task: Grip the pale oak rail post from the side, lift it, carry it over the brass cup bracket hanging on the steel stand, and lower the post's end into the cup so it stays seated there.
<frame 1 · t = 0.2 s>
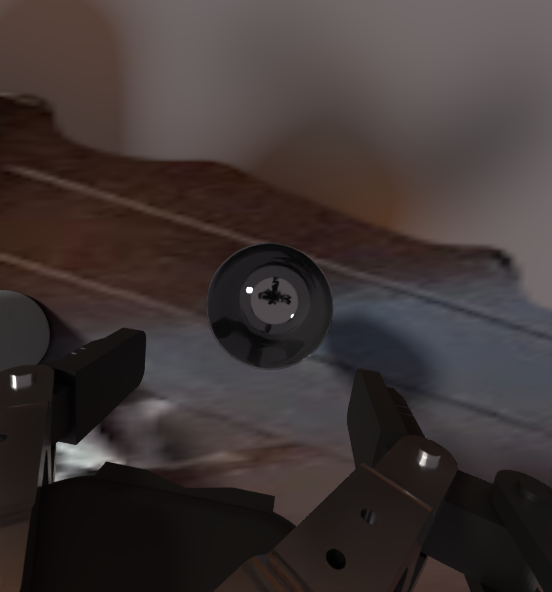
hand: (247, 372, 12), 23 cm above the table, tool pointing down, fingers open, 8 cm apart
water bottle: (14, 329, 37), on the table
wine glass: (281, 292, 35), on the table
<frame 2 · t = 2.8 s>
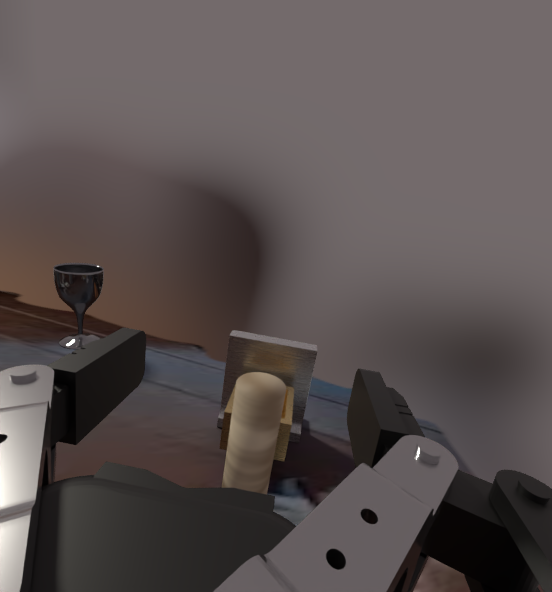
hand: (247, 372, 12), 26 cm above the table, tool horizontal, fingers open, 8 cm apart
rail post: (234, 551, 30), on the table
cup bracket: (252, 458, 41), on the table
wine glass: (80, 341, 63), on the table
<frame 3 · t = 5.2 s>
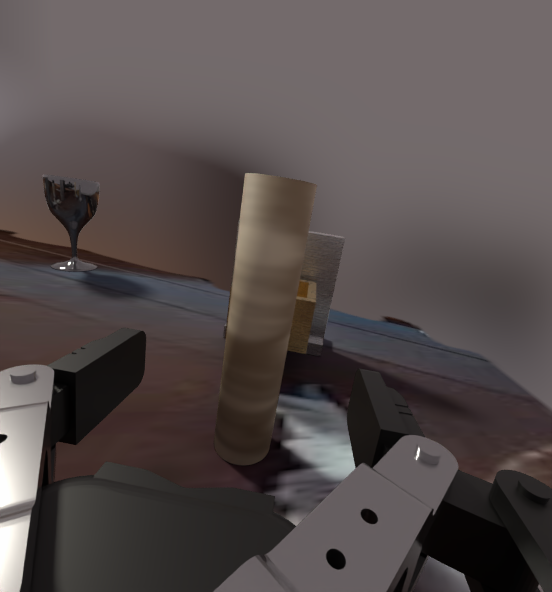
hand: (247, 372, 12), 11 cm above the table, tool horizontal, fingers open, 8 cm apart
rail post: (242, 442, 23), on the table
cup bracket: (265, 364, 34), on the table
wine glass: (74, 267, 57), on the table
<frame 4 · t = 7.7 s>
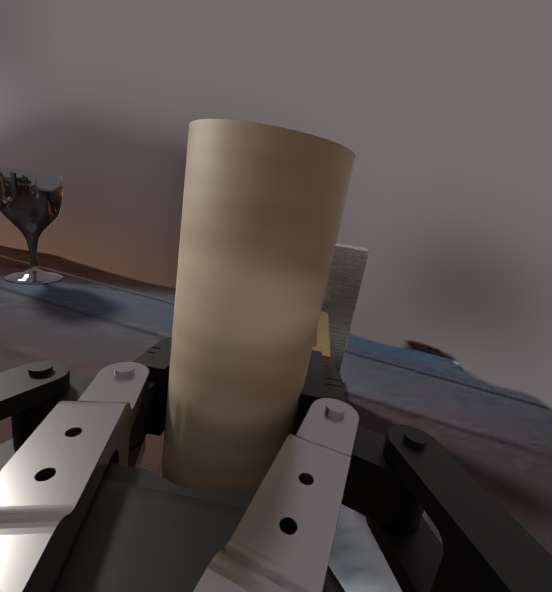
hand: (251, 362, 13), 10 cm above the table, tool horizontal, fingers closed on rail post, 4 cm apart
cup bracket: (255, 429, 24), on the table
wine glass: (34, 278, 48), on the table
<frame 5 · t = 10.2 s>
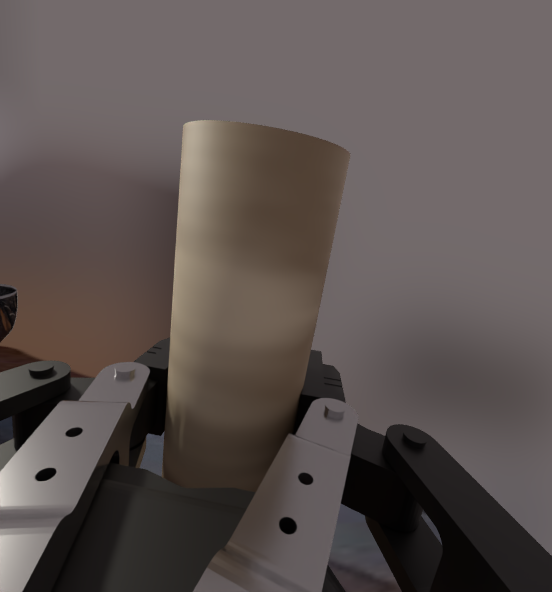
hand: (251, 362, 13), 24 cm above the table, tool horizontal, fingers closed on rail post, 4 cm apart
when the fingers open (16 cm above the table, at t = 12.8 s): rail post stays where it is, resting on cup bracket.
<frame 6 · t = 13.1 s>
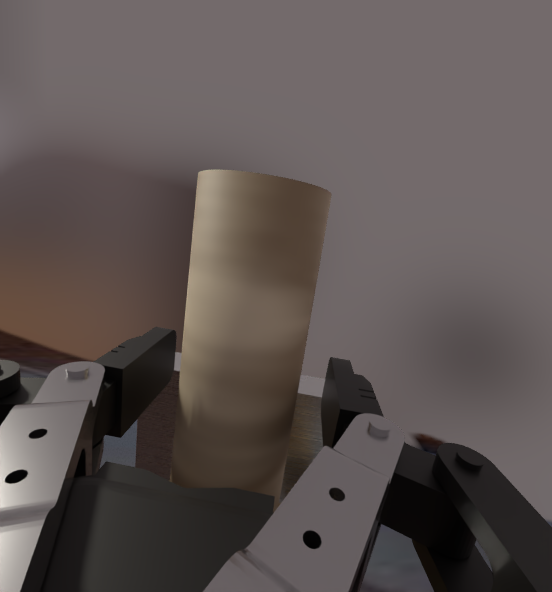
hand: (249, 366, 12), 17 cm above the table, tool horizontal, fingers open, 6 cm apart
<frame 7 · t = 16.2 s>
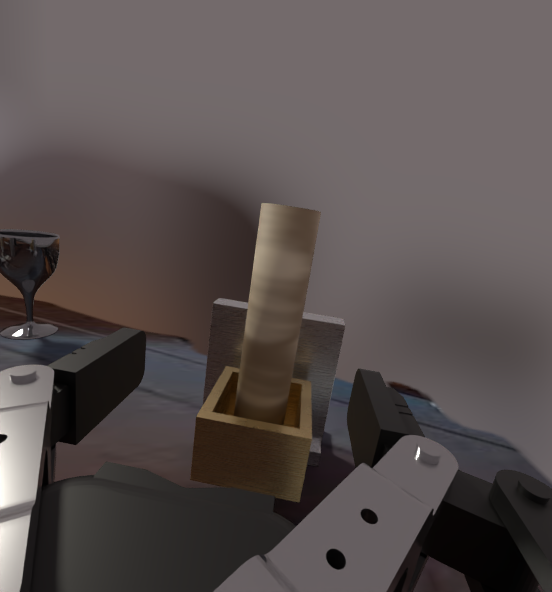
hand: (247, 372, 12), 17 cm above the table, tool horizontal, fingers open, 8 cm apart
rail post: (255, 437, 25), point 5 cm above the table, touching cup bracket
cup bracket: (247, 492, 26), on the table
wine glass: (30, 331, 49), on the table
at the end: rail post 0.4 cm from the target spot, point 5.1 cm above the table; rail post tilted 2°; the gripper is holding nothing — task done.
